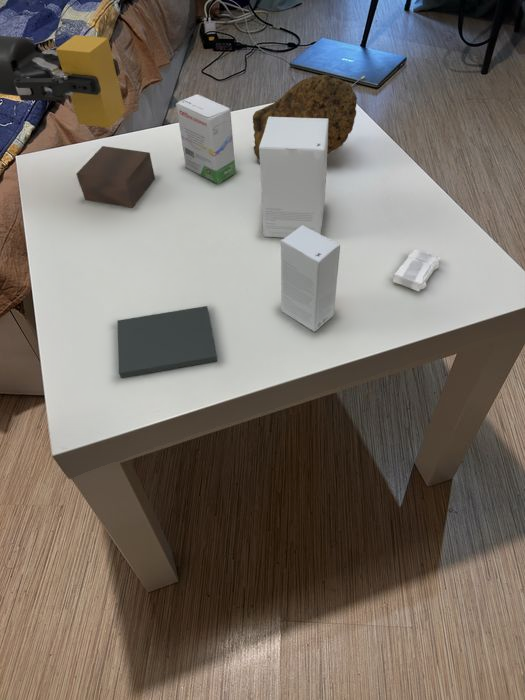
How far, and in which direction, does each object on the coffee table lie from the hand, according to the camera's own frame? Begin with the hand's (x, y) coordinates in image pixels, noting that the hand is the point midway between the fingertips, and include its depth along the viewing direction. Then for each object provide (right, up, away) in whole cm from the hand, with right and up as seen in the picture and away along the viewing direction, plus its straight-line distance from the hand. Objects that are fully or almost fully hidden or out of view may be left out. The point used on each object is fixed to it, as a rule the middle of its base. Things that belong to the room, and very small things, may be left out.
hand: (107, 77), depth 71 cm
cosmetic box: (+27, -32, -1) cm, 42 cm away
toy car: (+43, -27, +3) cm, 51 cm away
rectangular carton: (+26, -17, +12) cm, 33 cm away
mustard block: (-2, -3, +5) cm, 7 cm away
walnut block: (-3, -9, +19) cm, 22 cm away
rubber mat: (+9, -36, -4) cm, 38 cm away
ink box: (+12, -5, +22) cm, 26 cm away
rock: (+28, -2, +25) cm, 38 cm away
